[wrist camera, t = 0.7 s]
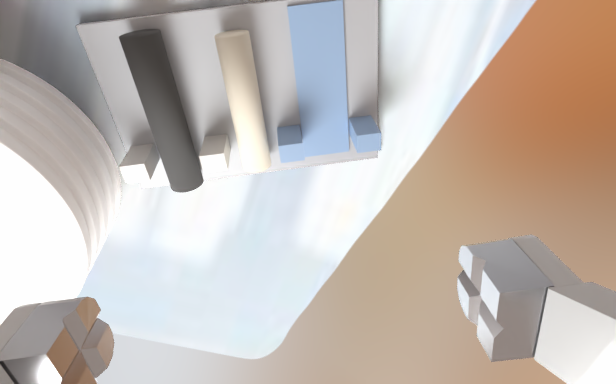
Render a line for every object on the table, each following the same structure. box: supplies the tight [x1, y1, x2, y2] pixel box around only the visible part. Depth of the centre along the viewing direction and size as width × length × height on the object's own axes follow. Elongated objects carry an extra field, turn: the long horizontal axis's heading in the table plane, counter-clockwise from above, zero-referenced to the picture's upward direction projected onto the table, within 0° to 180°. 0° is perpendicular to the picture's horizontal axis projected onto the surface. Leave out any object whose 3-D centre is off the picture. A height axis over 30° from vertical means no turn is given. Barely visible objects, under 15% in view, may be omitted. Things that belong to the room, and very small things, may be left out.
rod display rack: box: [76, 0, 381, 189], centre depth 40 cm, size 18×28×6 cm, turn 95°
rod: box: [214, 30, 271, 173], centre depth 40 cm, size 14×3×3 cm, turn 5°
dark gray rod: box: [119, 29, 204, 192], centre depth 40 cm, size 16×4×4 cm, turn 5°
